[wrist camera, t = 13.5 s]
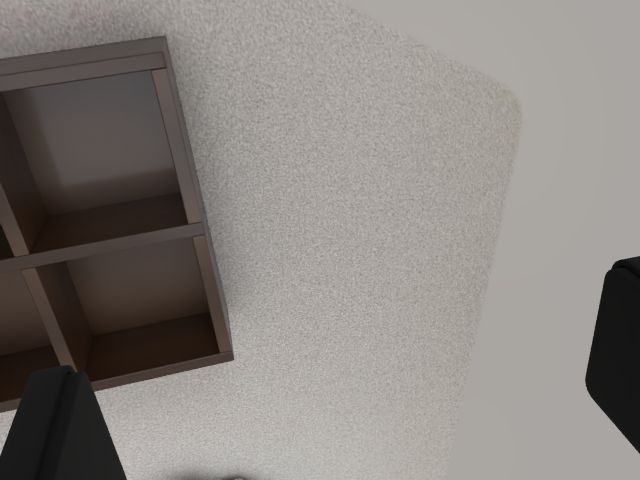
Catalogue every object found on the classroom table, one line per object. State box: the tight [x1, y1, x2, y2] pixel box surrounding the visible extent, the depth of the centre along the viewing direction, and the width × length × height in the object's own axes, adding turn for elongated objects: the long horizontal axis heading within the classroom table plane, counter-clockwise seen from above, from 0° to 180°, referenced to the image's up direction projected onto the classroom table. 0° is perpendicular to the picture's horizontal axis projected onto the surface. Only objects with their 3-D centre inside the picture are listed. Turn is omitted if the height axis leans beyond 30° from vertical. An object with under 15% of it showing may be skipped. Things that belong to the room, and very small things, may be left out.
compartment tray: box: [0, 36, 234, 413], centre depth 33 cm, size 19×19×6 cm
